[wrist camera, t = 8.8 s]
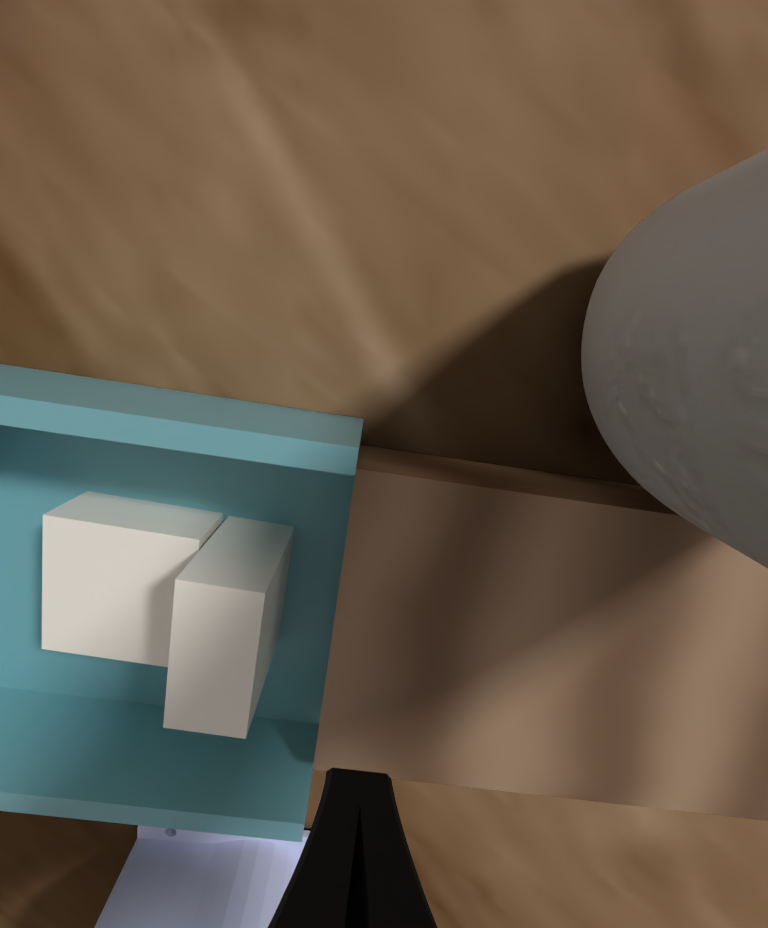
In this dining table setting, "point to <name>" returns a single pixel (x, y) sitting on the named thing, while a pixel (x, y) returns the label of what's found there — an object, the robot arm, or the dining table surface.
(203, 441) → the box
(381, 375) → the dining table surface
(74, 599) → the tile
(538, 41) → the dining table surface
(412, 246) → the dining table surface
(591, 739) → the tan flat block
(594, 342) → the glass bottle
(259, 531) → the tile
